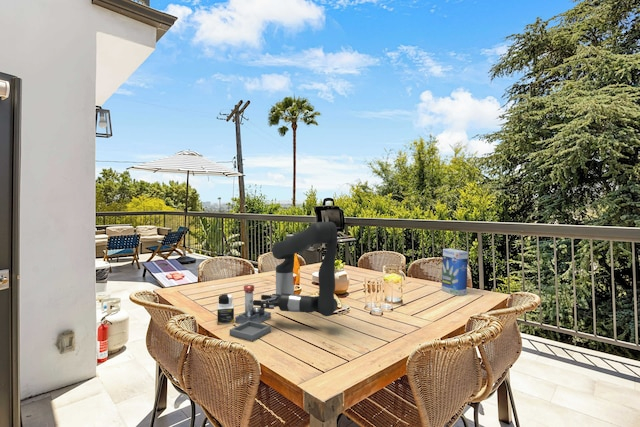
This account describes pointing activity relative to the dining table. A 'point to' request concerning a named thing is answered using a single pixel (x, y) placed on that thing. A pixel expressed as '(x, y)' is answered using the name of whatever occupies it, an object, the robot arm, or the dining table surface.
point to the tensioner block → (254, 316)
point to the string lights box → (454, 271)
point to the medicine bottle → (225, 309)
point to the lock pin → (249, 300)
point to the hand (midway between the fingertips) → (257, 299)
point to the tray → (250, 330)
